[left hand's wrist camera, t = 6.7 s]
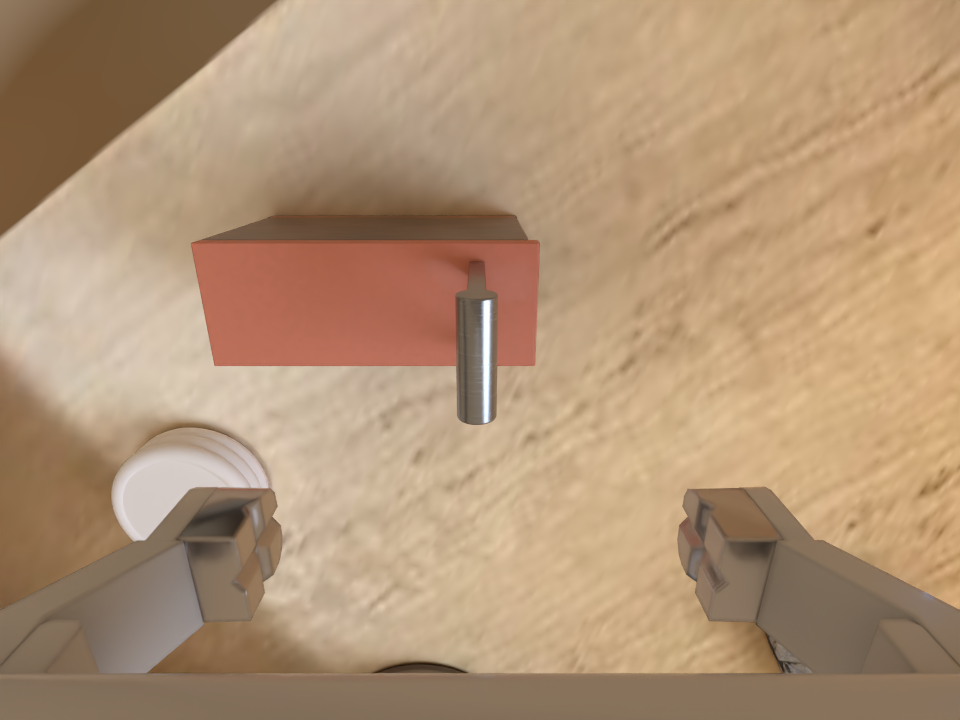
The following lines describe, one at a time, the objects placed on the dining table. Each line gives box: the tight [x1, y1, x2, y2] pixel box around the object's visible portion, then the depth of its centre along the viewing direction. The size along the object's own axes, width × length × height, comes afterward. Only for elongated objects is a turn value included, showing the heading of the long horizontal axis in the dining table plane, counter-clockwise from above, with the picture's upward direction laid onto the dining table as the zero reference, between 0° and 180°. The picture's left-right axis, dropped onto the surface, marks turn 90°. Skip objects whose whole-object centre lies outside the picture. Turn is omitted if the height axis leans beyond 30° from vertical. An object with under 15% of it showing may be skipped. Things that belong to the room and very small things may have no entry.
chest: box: [202, 216, 528, 240], centre depth 30 cm, size 15×6×10 cm, turn 90°
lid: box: [191, 240, 540, 425], centre depth 22 cm, size 16×6×8 cm, turn 90°
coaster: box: [111, 427, 269, 542], centre depth 39 cm, size 10×10×4 cm
